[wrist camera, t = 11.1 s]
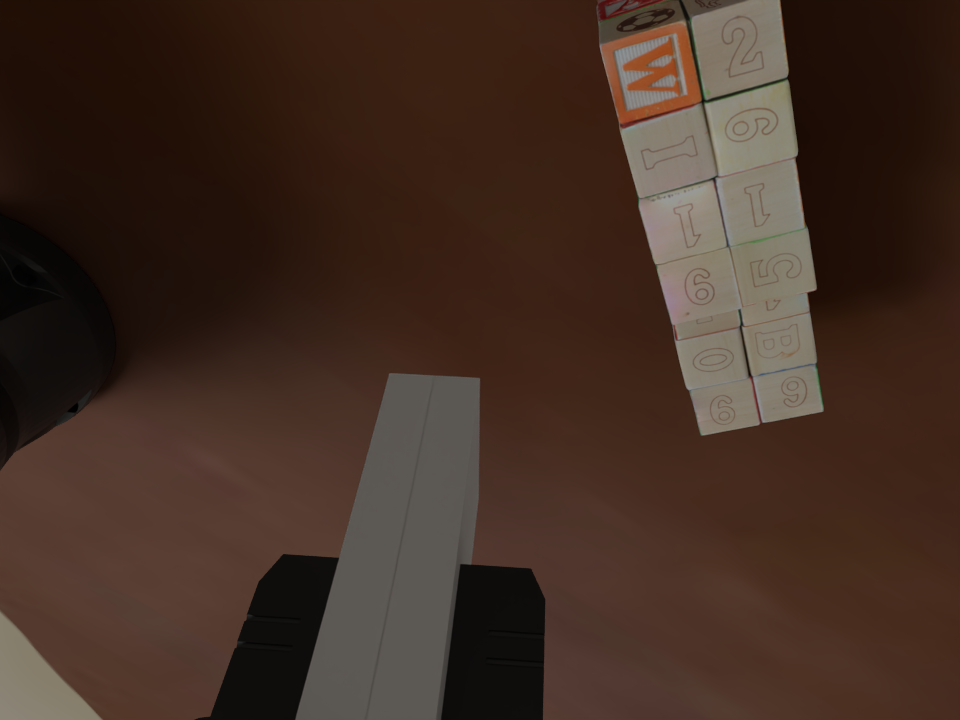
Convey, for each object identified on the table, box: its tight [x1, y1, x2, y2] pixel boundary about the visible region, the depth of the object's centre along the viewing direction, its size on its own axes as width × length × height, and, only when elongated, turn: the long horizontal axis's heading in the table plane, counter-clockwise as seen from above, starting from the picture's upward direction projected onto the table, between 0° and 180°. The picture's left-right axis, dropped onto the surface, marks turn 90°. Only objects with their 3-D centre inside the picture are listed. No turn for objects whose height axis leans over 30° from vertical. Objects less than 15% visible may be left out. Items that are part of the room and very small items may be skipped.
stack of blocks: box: [596, 0, 824, 435], centre depth 41 cm, size 21×6×12 cm, turn 18°
